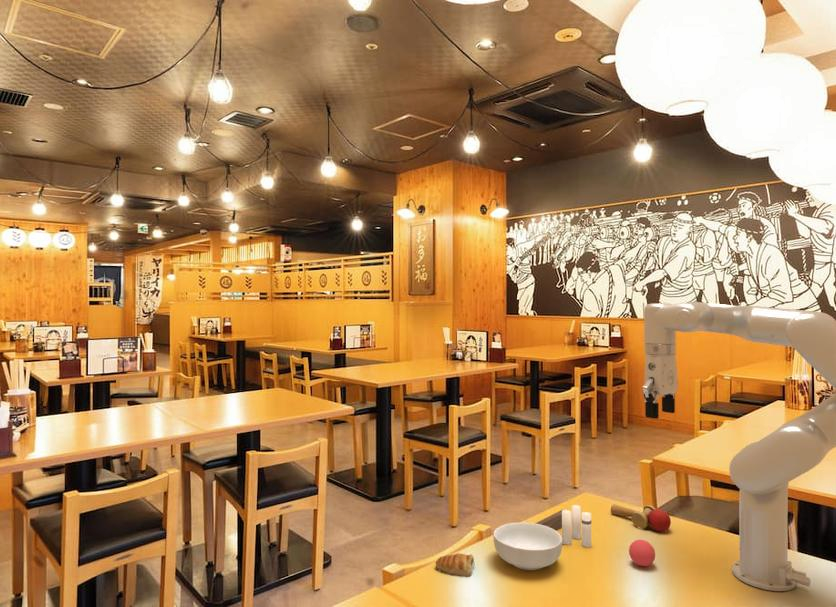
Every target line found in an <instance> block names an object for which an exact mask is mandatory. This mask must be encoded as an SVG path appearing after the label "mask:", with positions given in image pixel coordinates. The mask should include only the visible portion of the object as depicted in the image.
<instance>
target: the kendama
mask: <svg viewBox="0 0 836 607" xmlns="http://www.w3.org/2000/svg"><path fill="white" fill-rule="evenodd" d="M610 513H611V514H612V515H615V516H621V517H629V518H631V521H632V523H633V525H634V527H636V526H637V528H638V527H639V528H638V529H642V530H644V529H646V528H647V527H648V526H650V528H652V529H653V530H654V531H656V532H659V533H661V532H667V531H668V530H669V529H670V528H671V524H672V521H671V516H670V515H669V514H668V512H666V511H665V510H663V509H659V508H655V507H654V506H653V505H650V504H648V505H646V506H644V507H643V510H642V511H639V510H634V509H632V508H628V507H624V506H621V505H620V506H619V505H617V504H611V506H610Z"/></svg>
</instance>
